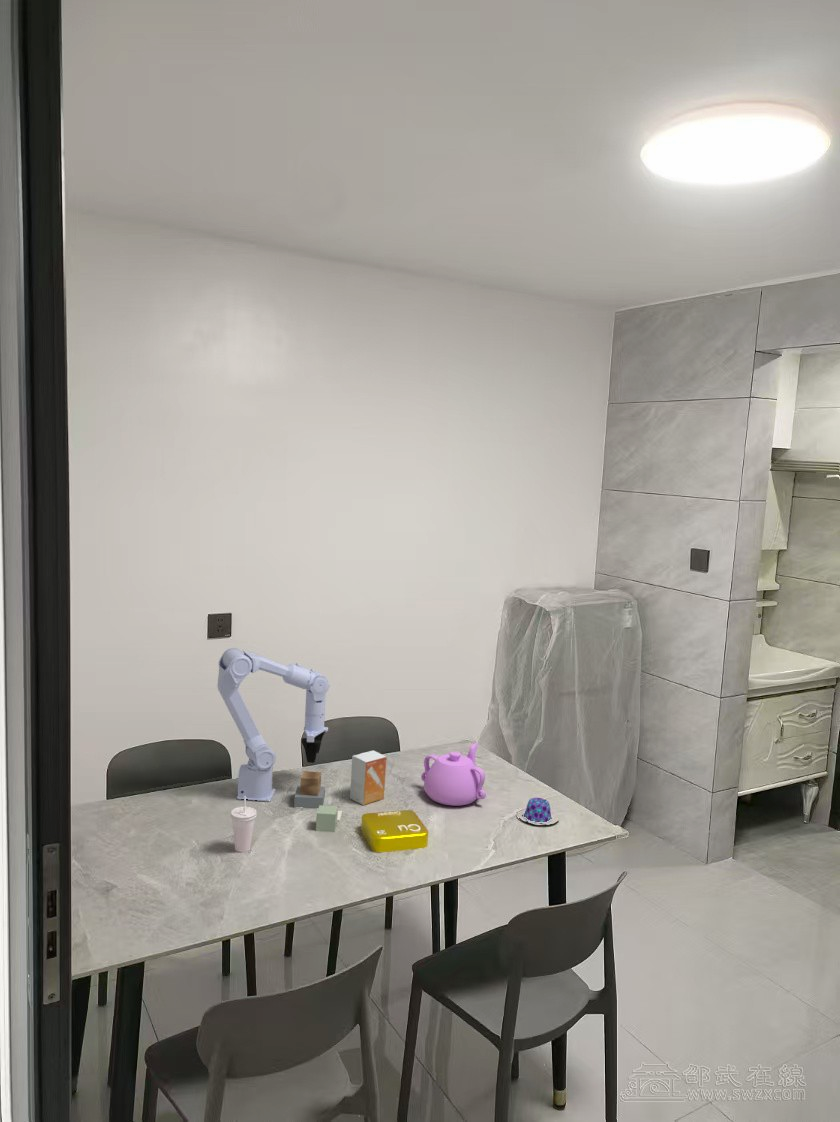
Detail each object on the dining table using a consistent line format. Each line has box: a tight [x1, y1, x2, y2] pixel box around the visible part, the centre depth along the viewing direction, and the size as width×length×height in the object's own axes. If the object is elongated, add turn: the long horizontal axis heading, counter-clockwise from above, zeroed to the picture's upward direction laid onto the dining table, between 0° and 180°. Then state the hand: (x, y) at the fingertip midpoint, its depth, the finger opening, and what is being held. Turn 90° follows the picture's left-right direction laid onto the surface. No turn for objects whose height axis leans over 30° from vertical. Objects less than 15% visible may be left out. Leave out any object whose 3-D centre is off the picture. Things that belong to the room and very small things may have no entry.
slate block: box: [293, 785, 326, 809], centre depth 239 cm, size 8×8×4 cm
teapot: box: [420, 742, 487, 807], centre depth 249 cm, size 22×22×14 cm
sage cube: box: [315, 804, 339, 833], centre depth 224 cm, size 5×5×5 cm
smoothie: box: [230, 796, 258, 853], centre depth 209 cm, size 6×6×14 cm
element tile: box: [360, 809, 429, 854], centre depth 220 cm, size 15×15×5 cm
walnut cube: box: [299, 770, 322, 796], centre depth 238 cm, size 5×5×5 cm
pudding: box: [516, 797, 552, 822], centre depth 237 cm, size 12×12×5 cm
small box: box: [349, 749, 387, 806], centre depth 243 cm, size 8×6×13 cm
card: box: [337, 810, 343, 822], centre depth 231 cm, size 6×6×1 cm
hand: (313, 757), depth 248 cm, fingers open, 7 cm apart
